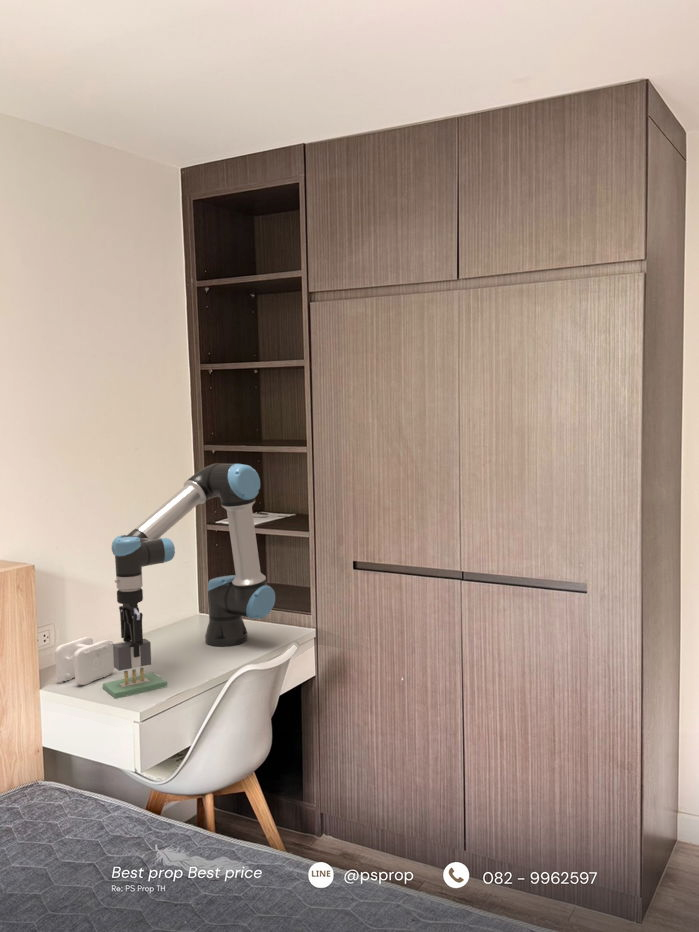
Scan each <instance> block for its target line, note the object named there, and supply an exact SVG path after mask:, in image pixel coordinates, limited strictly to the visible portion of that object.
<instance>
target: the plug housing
mask: <svg viewBox="0 0 699 932" xmlns="http://www.w3.org/2000/svg"><path fill="white" fill-rule="evenodd" d="M129 645H132V644H131V641H129V642H124V641H122V642H118V643H113V656H114V668H115V669H116V670H117V671H119V672H120V671H124V670H125V671H127V670H131V669H132V668H131V649H130V647H129ZM151 646H152V645H151V641H150V640H148V639H146V638H143V645H140V657H141V667H145V666H151V665H152V650H151V648H152V647H151Z"/></svg>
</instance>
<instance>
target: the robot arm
mask: <svg viewBox="0 0 699 932" xmlns="http://www.w3.org/2000/svg"><path fill="white" fill-rule="evenodd" d="M260 489H261V479H260V476H259V473H258V472H257V471H256V469H254V468H253V467H252V466H251V465H248V464H242V463H220V462H218V463H217V462H215V463H212V464H210V465H207V466H205V467H203V468H201V469H200V470H199V471H197V472H195V474H193V475H192V476H191V477H189V478H188V479H187V480H186V481H184V483H183V487H182V488H181V489H179V491H177V492H176V493H175V494H174V495H173V496H171V497H170V498H169V499H168V500H167V501H165V503H163V504H162V505H161V506H160V507H159V508H157V509H156V510H155V511H154V512H153V513H151V514H150V515H149V516H148V517H147V518H145V520H143V521H142V522H141V523H139V524H138V525H137V526H136V527H135V528H134V529H133V530H132V531H130V532H129V533H128V534H122V535H118V536H116V537H115V538H114V540H112V544H111V552H112V555H114V562H115V577H116V579H115V580H114V582H115V584H116V589H117V591H116V601H117V603H118V604H121V605H120V606H119V607H118V609H119V617H120V637H121V639H122V640H123V642H129V641H131V644H132V645H129V647H130V649H131V669H135V668H142V666H141V657H140V645H143V639H144V637H143V636H144V635H143V613H142V612H140V609H139V606H138V604H139V603H141V602H142V601H143V600H144V594H143V593H144V590H143V585H144V583H143V569H142V568H144V567H148V566H152V565H158V564H165V563H167V562H170V561H172V560H173V559H174V557H175V553H176V548H175V544H174V543H173V541H172V540H171V539H170V538H167V537H164V538H162V537H163V536H164V535H165V534H166V533H167V532H168V531H169V530H170V529H172V527H174V526H175V525H176V524H177V523H178V522H180V520H182V519H183V518H184V517H185V516H186V515H188V514H189V513H190V512H191V511H192V510H193V509H194V508H196V506H198V505H202V504H205V502H207V501H208V500H211V499H213V498H220V505H221V507H222V508H223V509H225V510H226V514H227V515H226V516H227V522H228V527H229V528H228V530H229V537H230V544H231V550H232V551H231V553H232V559H233V566H234V572H235V573H234V575H233V574H232V575H224V576H223V575H222V576H218V577H214V578H211V579H209V581H208V583H207V600H208V604H207V605H208V616H209V618H208V624H207V627H206V628H207V629H206V632H205V635H204V639H205V640H204V642H205V643H206V644H207V645H209V646H213V647H230V646H236V645H237V646H238V645H240V644H243V643H245V642H247V641H248V639H249V637H248V636H249V635H248V634H249V633H248V631H247V627H246V625H245V622H244V619H243V617H244V618H245V617H246V618H249V619H257V620H259V619H261V620H262V619H263V618H266V617H267V616H268V615H269V614H270V613H271V612H272V609H273V608H274V606H275V603H276V592H275V590H274V589H273V588H272V587H271V586H270V585H268V584H267V578H266V575H264V574H263V573H262V572H261V566H260V565H261V564H260V559H259V558H260V557H259V551H258V543H257V535H256V528H255V521H254V512H253V505H254V504H255V503H256V497H257V496H258V494H259V493H260V491H259V490H260Z"/></svg>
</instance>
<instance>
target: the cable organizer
mask: <svg viewBox="0 0 699 932" xmlns="http://www.w3.org/2000/svg"><path fill="white" fill-rule="evenodd" d="M113 644H114V641H113V640H110V639H104V640H100V641H98V642H94V639H93V638H92V637H89V636H84V637H81V638H79V639H75V640H73V641H70V642H66V643H64V644H60V645H59V646H57V647H56V648H55V651H54V652H55V653H54V655H55V657H54V658H55V659H54V660H55V672H56V674H55V677H56V679H57V680H58V681H62V682H63V681H66V682H68V681H67V680H69V681H71V680H73V679H74V680H75V681H74V682H75V683H76V684H77V685H78V684H79V685H82V686H86V685H89V684H92V682H93V681H96V680H99V679H100V680H101V679H103V677H104V678H106V677H108V675H111V674H113V672H114V671H115V669H116V668H114V656H113ZM72 678H73V679H72ZM70 679H71V680H70Z"/></svg>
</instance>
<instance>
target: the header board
mask: <svg viewBox="0 0 699 932" xmlns="http://www.w3.org/2000/svg"><path fill="white" fill-rule="evenodd" d="M139 670H140V675H137V672H136V671H137V670H136V669H135V668H132V670H131V671H132V676H131V677H129V674H128V673H129V672H128V670H125V671H124V670H123V671H124V673H123V675H124V676H123V677H124V678H122V679H117V680H113V681H109V682H104V683H102V689H103V690H104V691H105V690H106V691H105V692H106V693H108V694H109V695H110V694H111V695H112V696H111V695H110V696H111V697H113V698H114V699H119V698H123V696H124V697H128V696H132V695H137V694H140V693H145V692H149V691H153V690H157V689H162V687H163V688H166V686H167V687H168V684H167V681H166V680H165V679H164V678H162V677H161V676H159V675H158V674H156V673H155V672H150V673H145V672H144V671H145V669H144V667H139ZM131 694H132V695H131ZM127 695H128V696H127Z"/></svg>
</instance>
